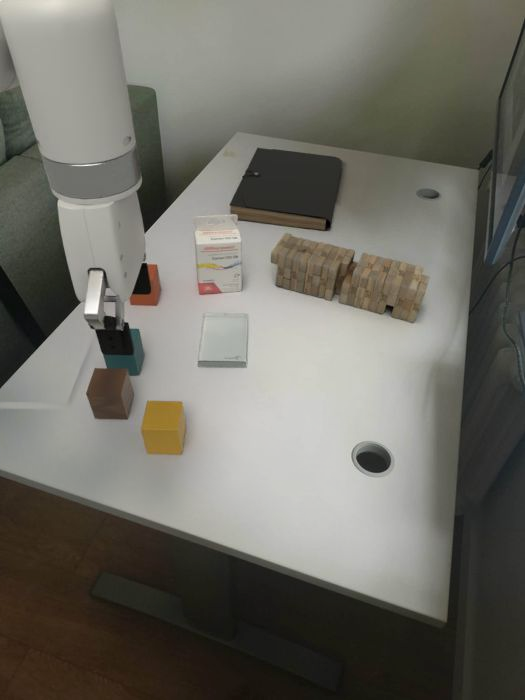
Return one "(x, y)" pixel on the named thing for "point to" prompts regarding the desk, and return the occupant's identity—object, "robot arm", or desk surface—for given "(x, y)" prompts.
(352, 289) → the block tower
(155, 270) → the terracotta block
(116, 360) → the teal block
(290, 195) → the black book
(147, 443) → the yellow block
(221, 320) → the hard drive
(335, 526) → the desk surface
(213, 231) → the ink cartridge box
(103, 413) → the walnut block
